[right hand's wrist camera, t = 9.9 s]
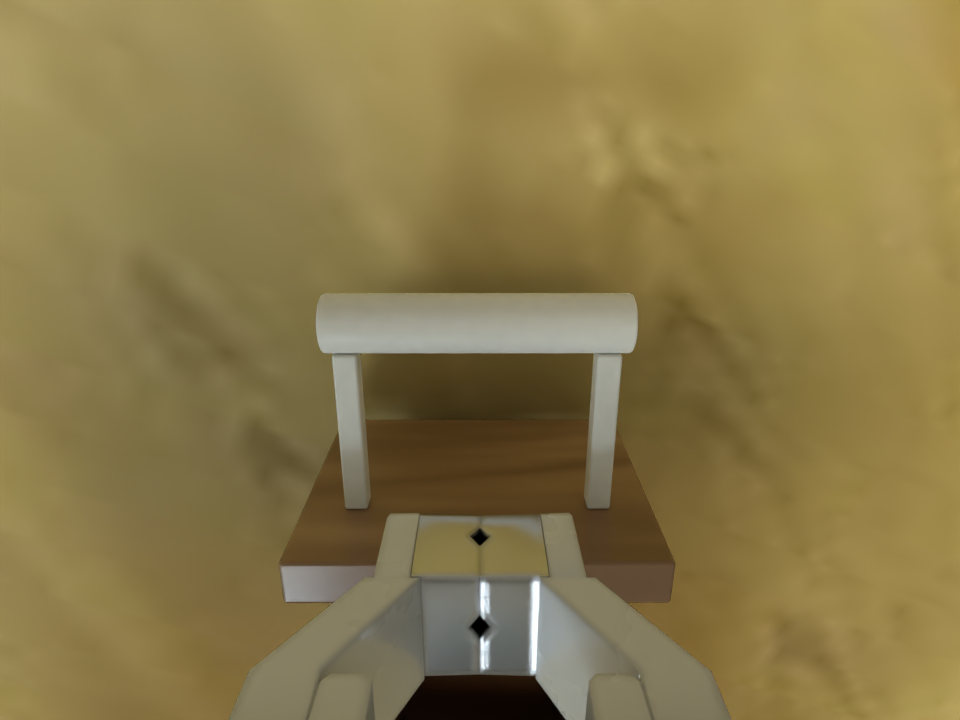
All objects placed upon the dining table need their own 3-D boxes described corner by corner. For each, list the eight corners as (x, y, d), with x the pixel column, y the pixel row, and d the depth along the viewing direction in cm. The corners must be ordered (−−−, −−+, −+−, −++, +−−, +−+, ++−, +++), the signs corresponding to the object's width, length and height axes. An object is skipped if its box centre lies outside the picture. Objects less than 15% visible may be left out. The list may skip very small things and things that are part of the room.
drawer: (327, 251, 19) (244, 326, 13) (627, 250, 20) (709, 326, 13) (375, 806, 28) (342, 1029, 21) (581, 805, 28) (613, 1028, 22)
